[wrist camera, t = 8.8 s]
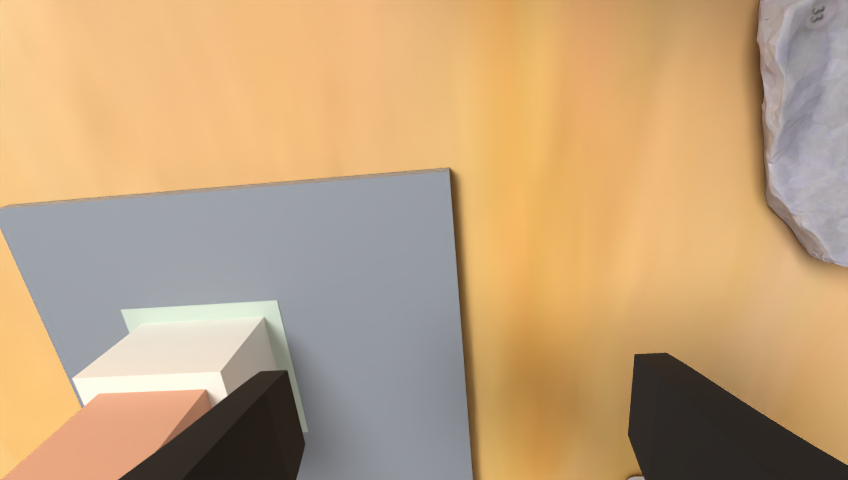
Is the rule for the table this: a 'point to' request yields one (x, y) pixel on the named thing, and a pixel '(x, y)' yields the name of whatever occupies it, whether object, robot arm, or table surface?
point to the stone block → (807, 120)
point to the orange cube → (113, 435)
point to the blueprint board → (281, 300)
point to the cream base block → (181, 359)
